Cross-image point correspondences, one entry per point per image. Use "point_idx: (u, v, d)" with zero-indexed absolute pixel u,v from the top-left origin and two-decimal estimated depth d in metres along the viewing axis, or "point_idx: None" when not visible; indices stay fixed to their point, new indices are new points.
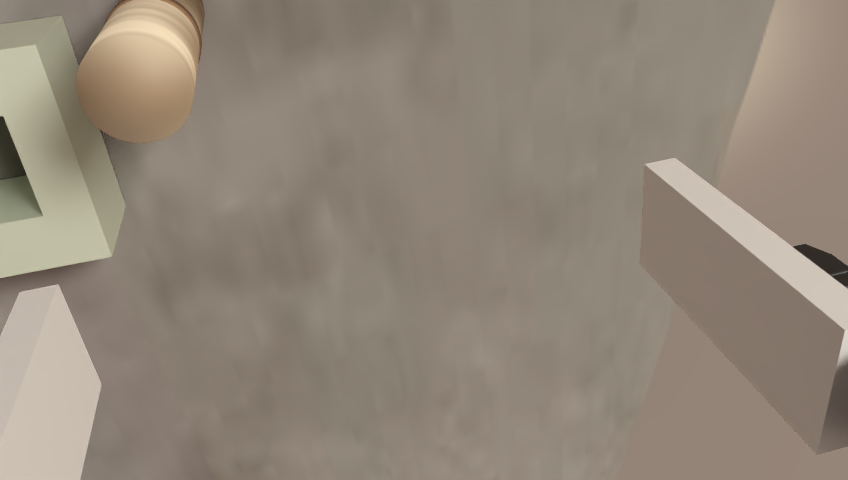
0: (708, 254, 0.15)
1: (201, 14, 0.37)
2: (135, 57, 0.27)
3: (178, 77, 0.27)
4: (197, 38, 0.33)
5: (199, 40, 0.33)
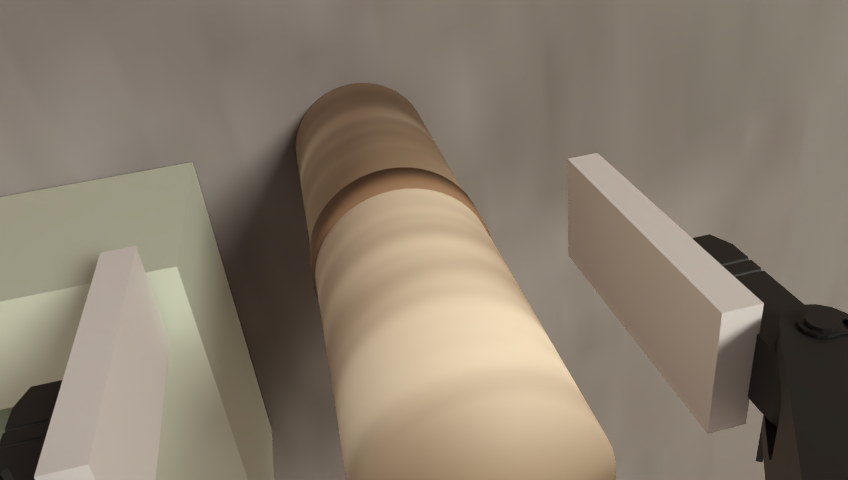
0: (619, 245, 0.16)
1: None
2: (506, 440, 0.10)
3: (590, 467, 0.11)
4: None
5: None
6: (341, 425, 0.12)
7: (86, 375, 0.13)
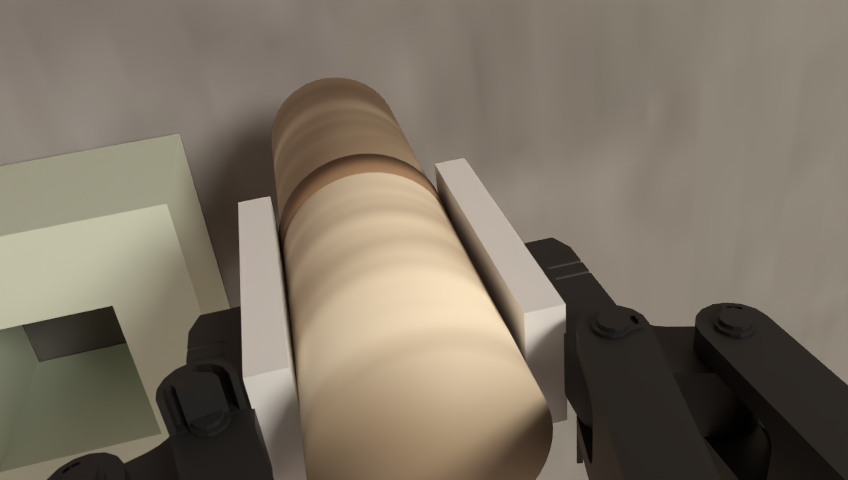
0: (468, 247, 0.16)
1: None
2: (446, 394, 0.11)
3: (527, 421, 0.12)
4: None
5: None
6: (298, 387, 0.13)
7: (261, 299, 0.14)
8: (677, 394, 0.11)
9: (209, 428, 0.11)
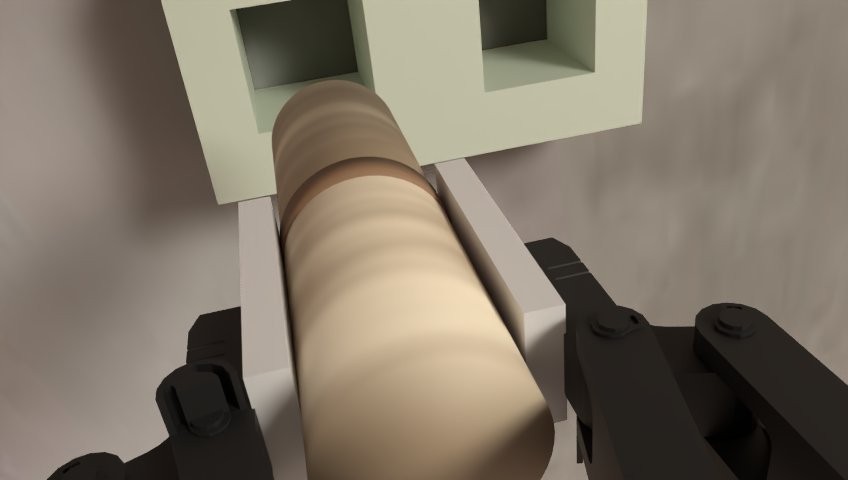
0: (468, 247, 0.16)
1: None
2: (447, 399, 0.11)
3: (529, 426, 0.12)
4: None
5: None
6: (300, 392, 0.13)
7: (261, 299, 0.14)
8: (677, 394, 0.11)
9: (209, 428, 0.11)
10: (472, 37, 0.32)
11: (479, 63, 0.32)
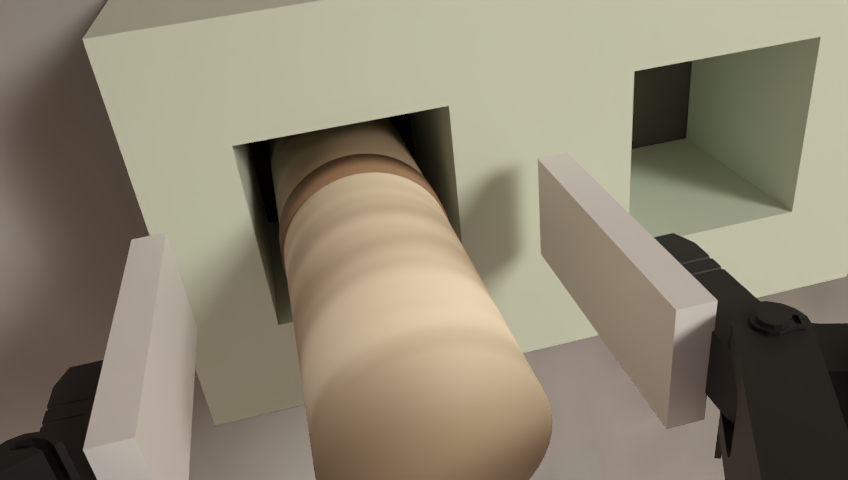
0: (584, 243, 0.16)
1: None
2: (450, 389, 0.12)
3: (528, 415, 0.12)
4: None
5: None
6: (304, 384, 0.13)
7: (127, 354, 0.13)
8: (832, 400, 0.10)
9: None
10: (617, 170, 0.20)
11: (624, 207, 0.21)
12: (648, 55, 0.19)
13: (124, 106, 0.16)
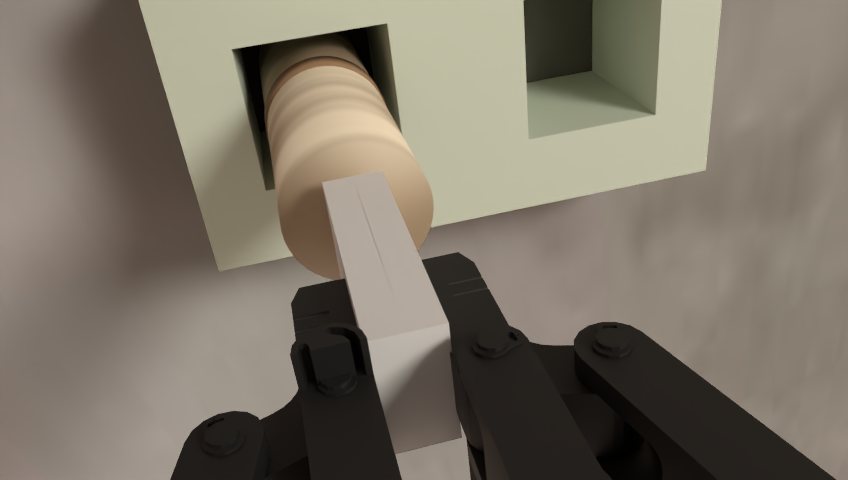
0: None
1: None
2: (364, 171, 0.19)
3: (416, 194, 0.19)
4: None
5: None
6: (276, 183, 0.20)
7: (366, 271, 0.14)
8: (562, 408, 0.11)
9: (336, 389, 0.12)
10: (516, 76, 0.27)
11: (523, 106, 0.28)
12: None
13: (156, 17, 0.23)
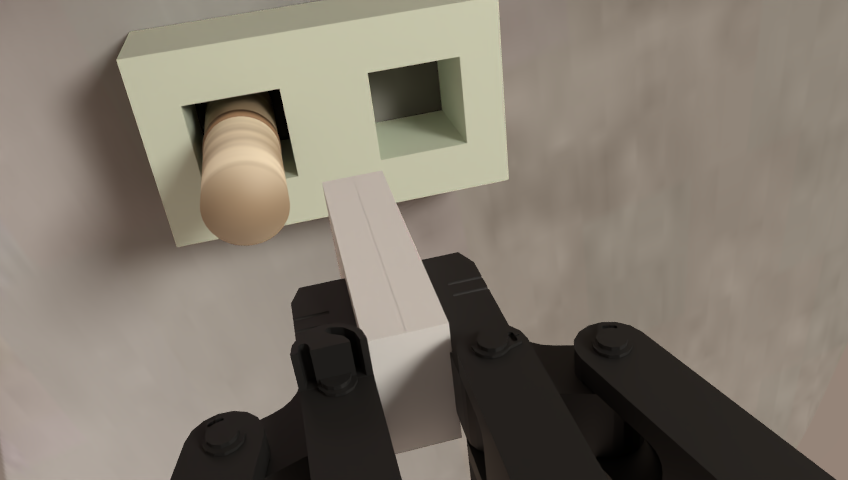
0: None
1: (274, 115, 0.44)
2: (246, 181, 0.33)
3: (278, 194, 0.34)
4: (279, 145, 0.40)
5: (280, 146, 0.40)
6: None
7: (365, 271, 0.14)
8: (562, 408, 0.11)
9: (336, 389, 0.12)
10: (367, 120, 0.42)
11: (375, 139, 0.42)
12: (373, 65, 0.40)
13: (133, 88, 0.38)
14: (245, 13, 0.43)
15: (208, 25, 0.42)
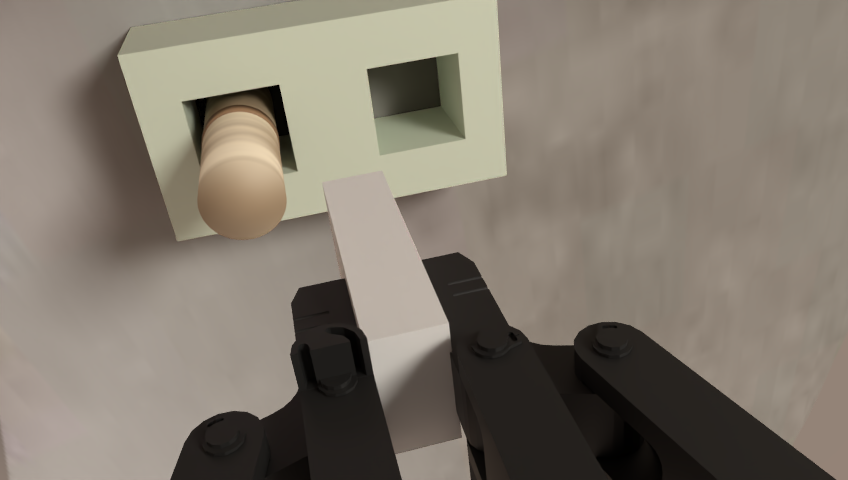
0: None
1: (273, 110, 0.44)
2: (243, 176, 0.34)
3: (275, 189, 0.34)
4: (278, 141, 0.40)
5: (278, 141, 0.40)
6: None
7: (365, 271, 0.14)
8: (562, 408, 0.11)
9: (336, 389, 0.12)
10: (366, 115, 0.42)
11: (374, 134, 0.43)
12: (372, 61, 0.41)
13: (134, 83, 0.39)
14: (245, 9, 0.44)
15: (208, 21, 0.42)
